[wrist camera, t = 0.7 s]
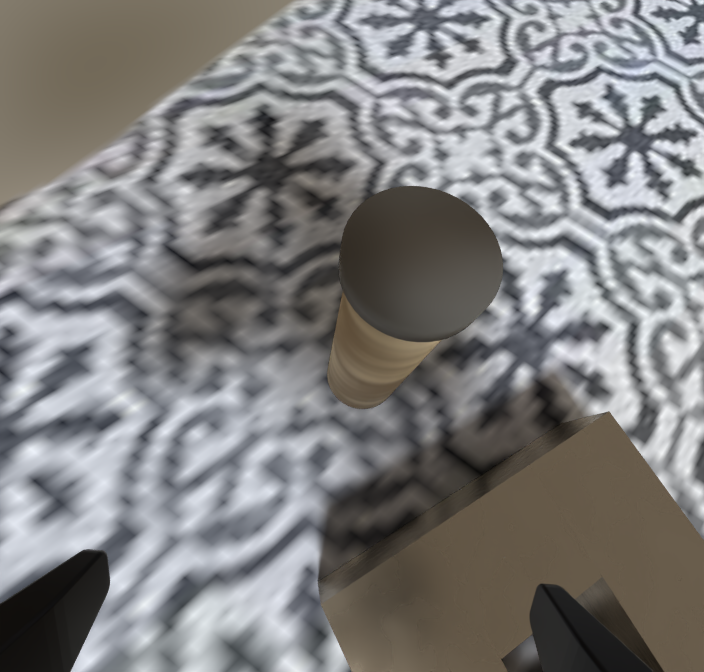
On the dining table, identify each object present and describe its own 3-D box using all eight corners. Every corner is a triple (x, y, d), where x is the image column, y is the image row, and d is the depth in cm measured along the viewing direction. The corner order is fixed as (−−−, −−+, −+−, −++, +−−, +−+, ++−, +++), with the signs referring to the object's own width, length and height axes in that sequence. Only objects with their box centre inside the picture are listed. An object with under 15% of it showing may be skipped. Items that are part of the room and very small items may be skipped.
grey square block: (765, 719, 19) (874, 773, 16) (512, 1001, 15) (579, 1166, 12) (561, 423, 24) (609, 411, 20) (317, 582, 19) (320, 604, 16)
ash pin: (415, 390, 23) (534, 286, 11) (346, 429, 22) (396, 358, 10) (375, 324, 25) (445, 166, 12) (307, 357, 23) (312, 218, 11)
